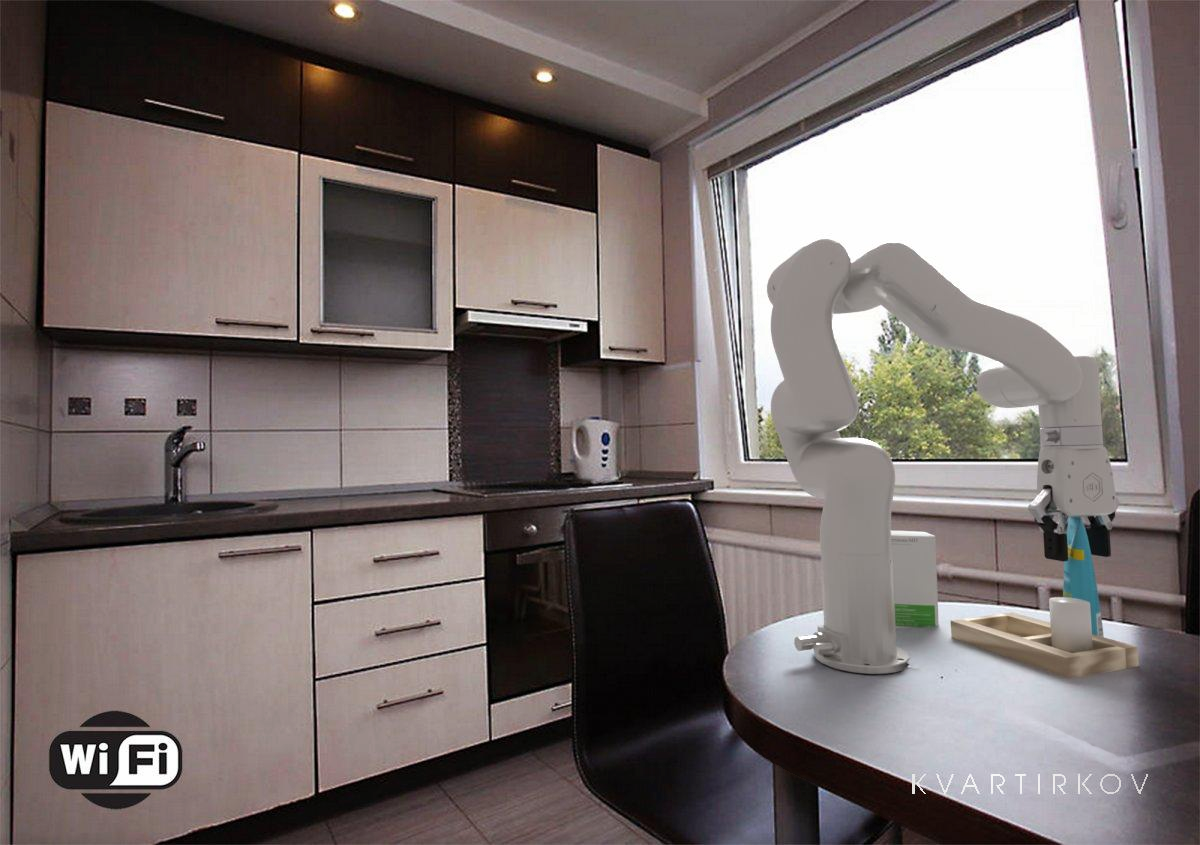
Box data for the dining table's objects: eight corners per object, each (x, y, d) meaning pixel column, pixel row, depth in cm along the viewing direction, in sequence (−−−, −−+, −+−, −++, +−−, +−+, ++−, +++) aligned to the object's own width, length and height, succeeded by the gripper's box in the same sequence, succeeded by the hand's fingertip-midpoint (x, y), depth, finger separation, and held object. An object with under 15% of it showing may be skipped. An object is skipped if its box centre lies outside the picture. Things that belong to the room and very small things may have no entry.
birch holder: (1068, 686, 78) (1066, 657, 78) (951, 643, 96) (950, 620, 96) (1139, 674, 82) (1137, 646, 82) (1013, 635, 99) (1012, 612, 99)
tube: (1056, 636, 98) (1049, 511, 98) (1094, 638, 96) (1086, 511, 97) (1073, 651, 91) (1065, 517, 91) (1114, 654, 89) (1106, 517, 90)
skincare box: (885, 630, 103) (881, 535, 104) (877, 619, 110) (873, 529, 110) (941, 632, 101) (936, 535, 102) (930, 621, 108) (925, 529, 108)
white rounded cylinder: (1076, 669, 81) (1072, 606, 81) (1044, 658, 85) (1040, 599, 86) (1102, 665, 82) (1098, 603, 83) (1069, 654, 87) (1065, 595, 87)
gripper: (1049, 440, 89) (1057, 566, 88) (1140, 437, 93) (1148, 557, 93) (1002, 441, 96) (1009, 558, 95) (1089, 438, 101) (1095, 549, 100)
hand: (1077, 556), depth 94 cm, fingers open, 7 cm apart
